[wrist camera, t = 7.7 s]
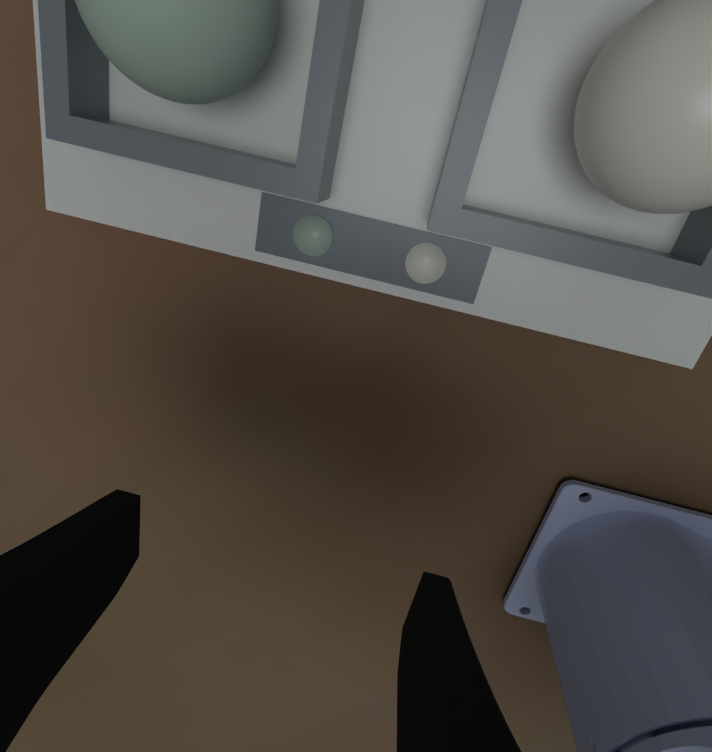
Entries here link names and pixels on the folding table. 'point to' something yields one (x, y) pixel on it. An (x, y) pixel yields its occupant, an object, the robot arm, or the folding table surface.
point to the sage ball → (184, 43)
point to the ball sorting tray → (391, 165)
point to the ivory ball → (651, 110)
